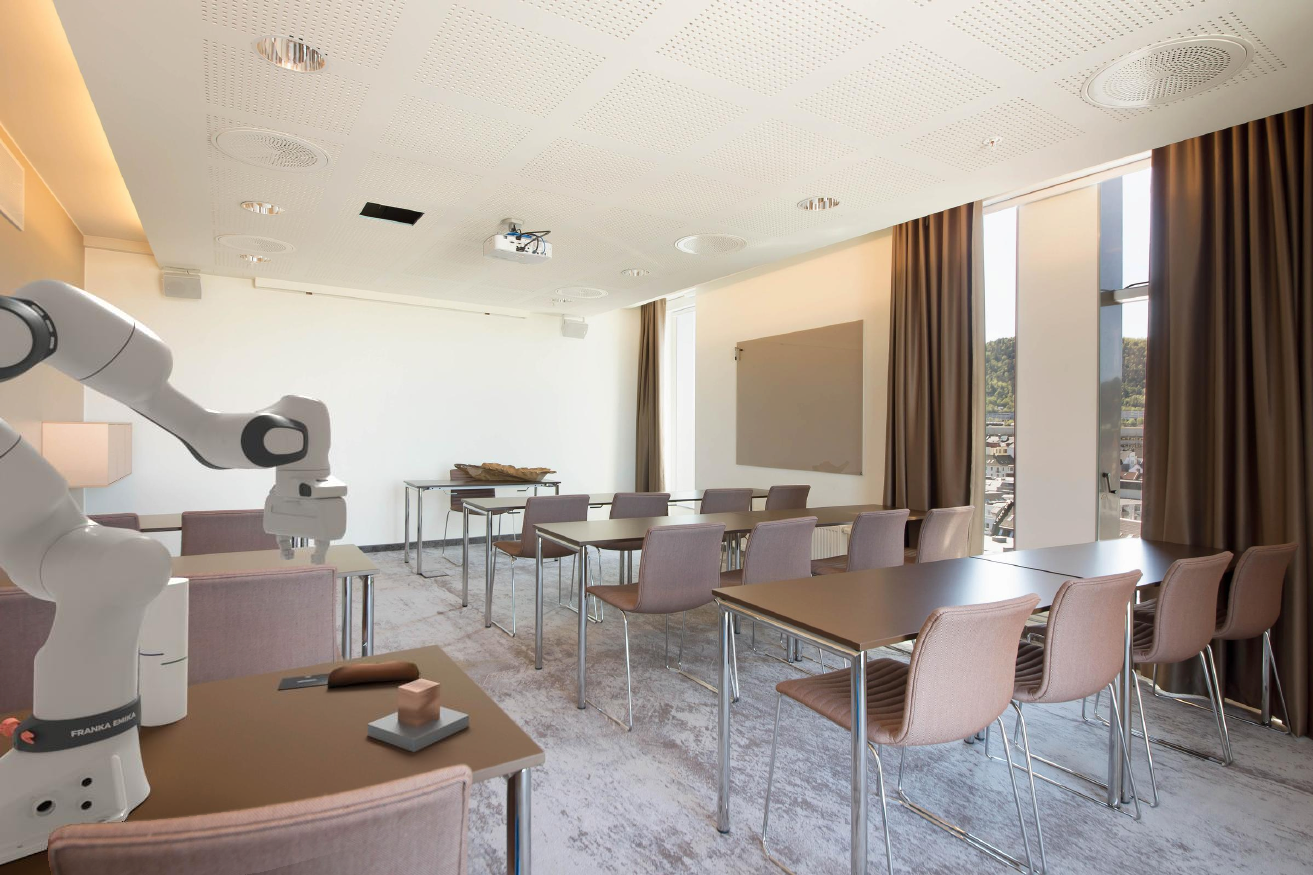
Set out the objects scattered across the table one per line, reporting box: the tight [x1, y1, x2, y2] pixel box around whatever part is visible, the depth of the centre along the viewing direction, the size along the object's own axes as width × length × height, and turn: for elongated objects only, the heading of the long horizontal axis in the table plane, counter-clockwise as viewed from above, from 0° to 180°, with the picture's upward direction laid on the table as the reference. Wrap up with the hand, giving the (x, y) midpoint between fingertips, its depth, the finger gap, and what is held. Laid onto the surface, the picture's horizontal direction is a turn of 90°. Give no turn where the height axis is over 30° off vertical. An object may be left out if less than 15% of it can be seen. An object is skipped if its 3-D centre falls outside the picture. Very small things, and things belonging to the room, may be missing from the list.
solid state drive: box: [277, 672, 331, 691], centre depth 142 cm, size 7×10×1 cm
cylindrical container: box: [138, 577, 190, 727], centre depth 123 cm, size 7×7×25 cm
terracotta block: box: [397, 678, 441, 727], centre depth 119 cm, size 5×5×6 cm
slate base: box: [367, 705, 470, 753], centre depth 119 cm, size 12×12×2 cm
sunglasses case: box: [327, 660, 421, 689], centre depth 144 cm, size 18×7×7 cm
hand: (302, 561), depth 122 cm, fingers open, 8 cm apart
